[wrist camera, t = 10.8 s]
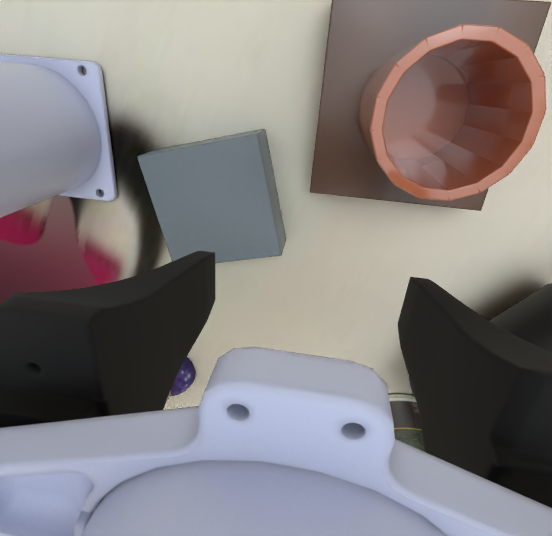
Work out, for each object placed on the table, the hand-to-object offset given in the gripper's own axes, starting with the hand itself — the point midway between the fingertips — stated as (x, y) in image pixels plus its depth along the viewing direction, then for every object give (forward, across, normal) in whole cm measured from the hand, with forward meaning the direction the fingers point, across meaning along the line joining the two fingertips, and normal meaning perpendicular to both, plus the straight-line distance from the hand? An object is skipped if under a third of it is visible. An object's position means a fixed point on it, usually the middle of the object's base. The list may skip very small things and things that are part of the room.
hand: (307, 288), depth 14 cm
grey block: (+10, +6, 0) cm, 12 cm away
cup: (+8, -4, -6) cm, 11 cm away
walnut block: (+10, -4, -6) cm, 13 cm away
